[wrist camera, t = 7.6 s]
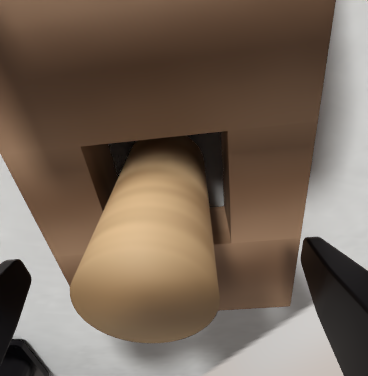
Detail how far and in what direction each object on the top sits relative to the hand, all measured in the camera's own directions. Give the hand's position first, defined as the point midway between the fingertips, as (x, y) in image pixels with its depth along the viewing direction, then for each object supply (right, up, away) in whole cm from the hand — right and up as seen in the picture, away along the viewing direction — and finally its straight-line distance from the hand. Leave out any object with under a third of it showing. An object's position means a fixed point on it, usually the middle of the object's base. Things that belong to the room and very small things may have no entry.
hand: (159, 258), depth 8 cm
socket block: (0, +3, +6) cm, 6 cm away
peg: (0, +3, +6) cm, 7 cm away
